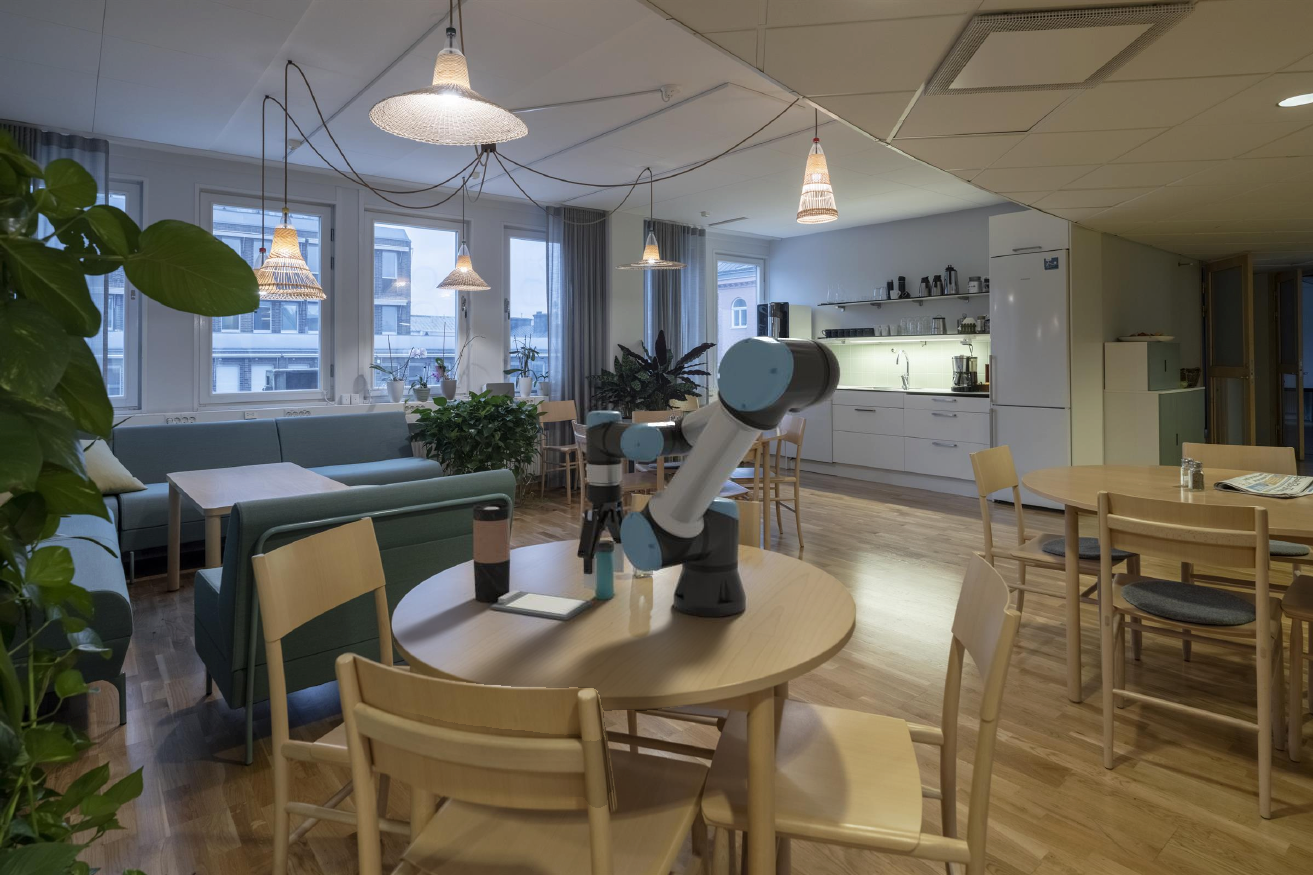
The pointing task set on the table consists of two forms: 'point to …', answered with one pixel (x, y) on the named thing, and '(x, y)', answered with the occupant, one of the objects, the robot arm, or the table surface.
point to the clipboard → (541, 605)
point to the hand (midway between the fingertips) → (604, 579)
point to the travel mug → (491, 552)
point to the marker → (605, 570)
